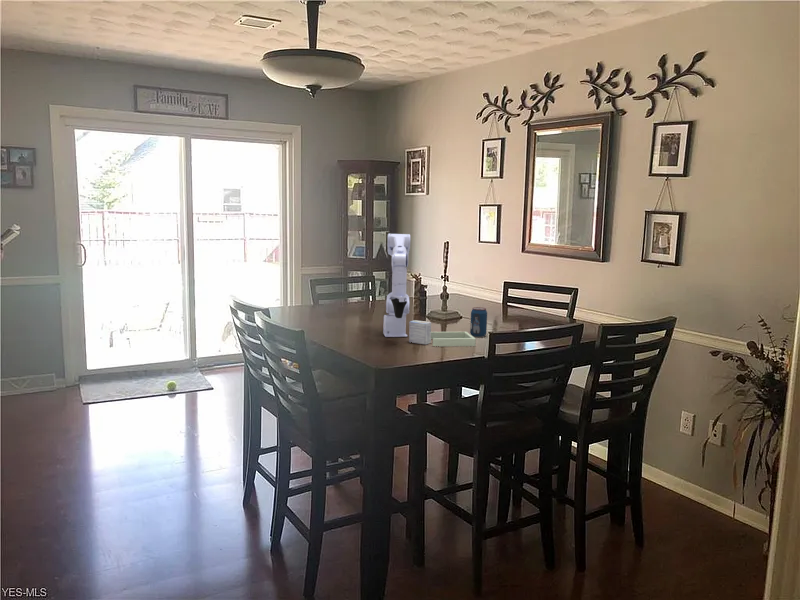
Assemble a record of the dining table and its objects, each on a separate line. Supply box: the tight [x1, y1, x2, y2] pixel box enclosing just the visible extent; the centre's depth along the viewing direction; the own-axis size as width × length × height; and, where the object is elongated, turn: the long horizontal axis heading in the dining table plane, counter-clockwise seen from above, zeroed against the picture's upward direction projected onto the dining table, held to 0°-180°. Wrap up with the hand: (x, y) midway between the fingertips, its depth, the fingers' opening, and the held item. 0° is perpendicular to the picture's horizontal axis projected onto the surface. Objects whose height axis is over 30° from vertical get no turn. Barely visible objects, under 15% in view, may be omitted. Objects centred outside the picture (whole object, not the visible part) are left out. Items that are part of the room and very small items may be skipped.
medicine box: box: [408, 319, 432, 345], centre depth 256 cm, size 8×4×9 cm, turn 59°
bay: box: [431, 331, 477, 348], centre depth 258 cm, size 17×14×3 cm
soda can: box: [469, 306, 488, 338], centre depth 272 cm, size 7×7×12 cm
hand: (398, 317), depth 253 cm, fingers open, 2 cm apart
